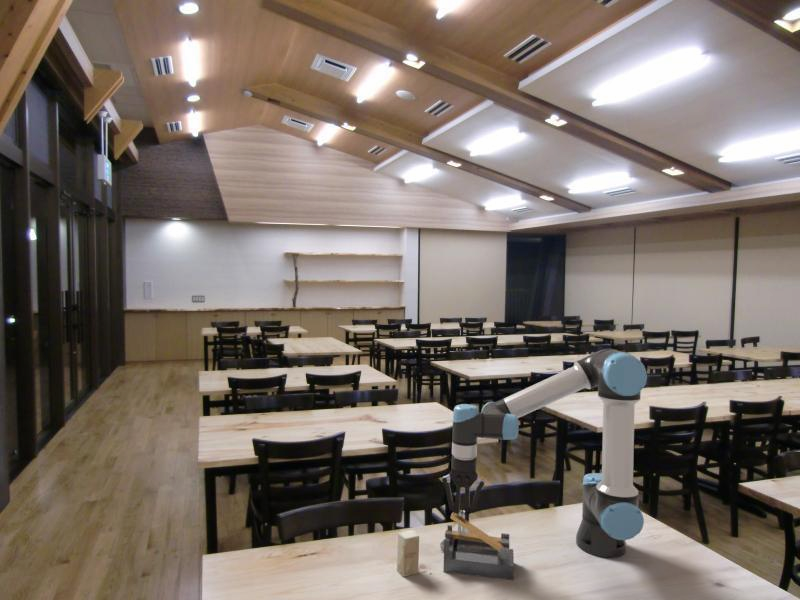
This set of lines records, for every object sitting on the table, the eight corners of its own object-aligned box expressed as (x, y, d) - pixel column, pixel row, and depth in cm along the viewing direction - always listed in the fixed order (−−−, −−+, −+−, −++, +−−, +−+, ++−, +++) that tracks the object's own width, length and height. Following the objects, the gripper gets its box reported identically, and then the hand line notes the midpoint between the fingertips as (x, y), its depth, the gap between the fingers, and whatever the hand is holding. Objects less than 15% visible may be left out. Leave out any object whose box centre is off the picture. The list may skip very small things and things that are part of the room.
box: (403, 577, 150) (403, 538, 150) (396, 570, 154) (396, 532, 154) (419, 573, 153) (419, 535, 152) (412, 565, 156) (412, 529, 156)
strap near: (506, 553, 153) (509, 548, 153) (506, 557, 151) (509, 552, 151) (450, 515, 156) (453, 510, 156) (449, 519, 154) (453, 514, 154)
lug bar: (455, 543, 163) (455, 525, 163) (452, 559, 153) (452, 540, 153) (447, 542, 163) (447, 524, 163) (443, 558, 153) (444, 539, 153)
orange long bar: (507, 543, 158) (508, 537, 158) (508, 547, 156) (508, 541, 156) (445, 534, 162) (445, 528, 162) (444, 537, 160) (445, 532, 160)
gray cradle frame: (513, 562, 159) (513, 534, 159) (513, 580, 149) (514, 550, 149) (447, 554, 163) (447, 527, 163) (443, 571, 153) (444, 542, 153)
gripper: (487, 454, 162) (484, 530, 162) (443, 450, 164) (440, 525, 165) (486, 462, 154) (483, 541, 155) (440, 458, 157) (437, 536, 158)
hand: (461, 533), depth 160 cm, fingers closed, pressing on orange long bar
